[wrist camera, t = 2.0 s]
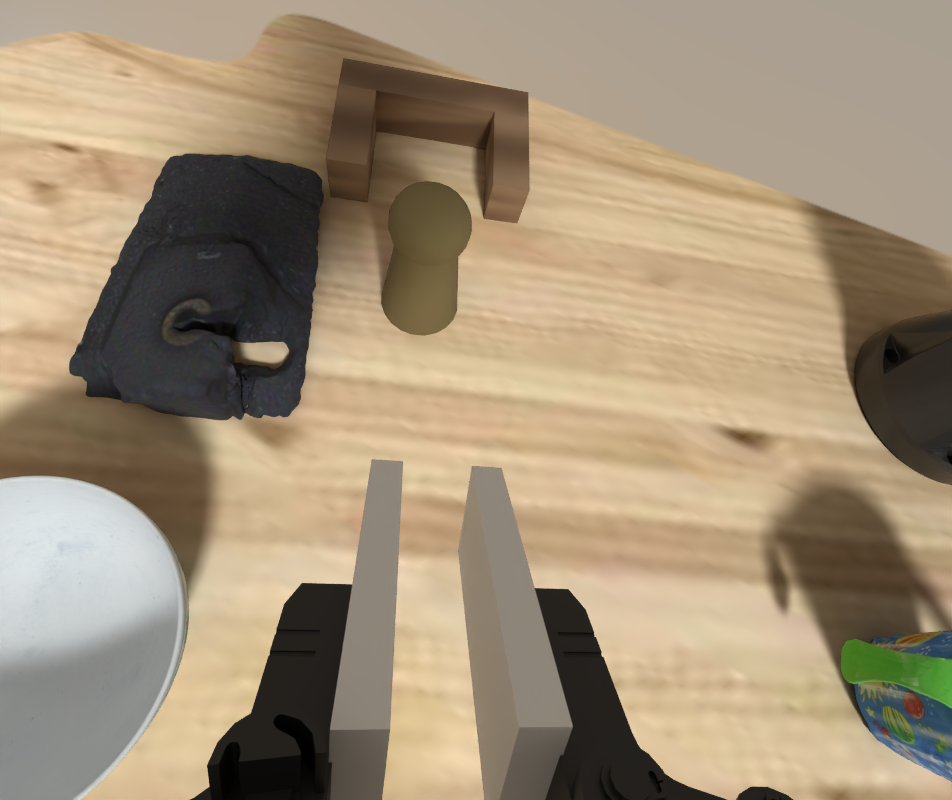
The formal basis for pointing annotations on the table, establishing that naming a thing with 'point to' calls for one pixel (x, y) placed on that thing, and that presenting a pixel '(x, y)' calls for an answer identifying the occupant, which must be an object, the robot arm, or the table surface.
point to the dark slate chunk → (209, 291)
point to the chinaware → (80, 633)
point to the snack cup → (906, 694)
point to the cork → (425, 257)
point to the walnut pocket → (429, 129)
